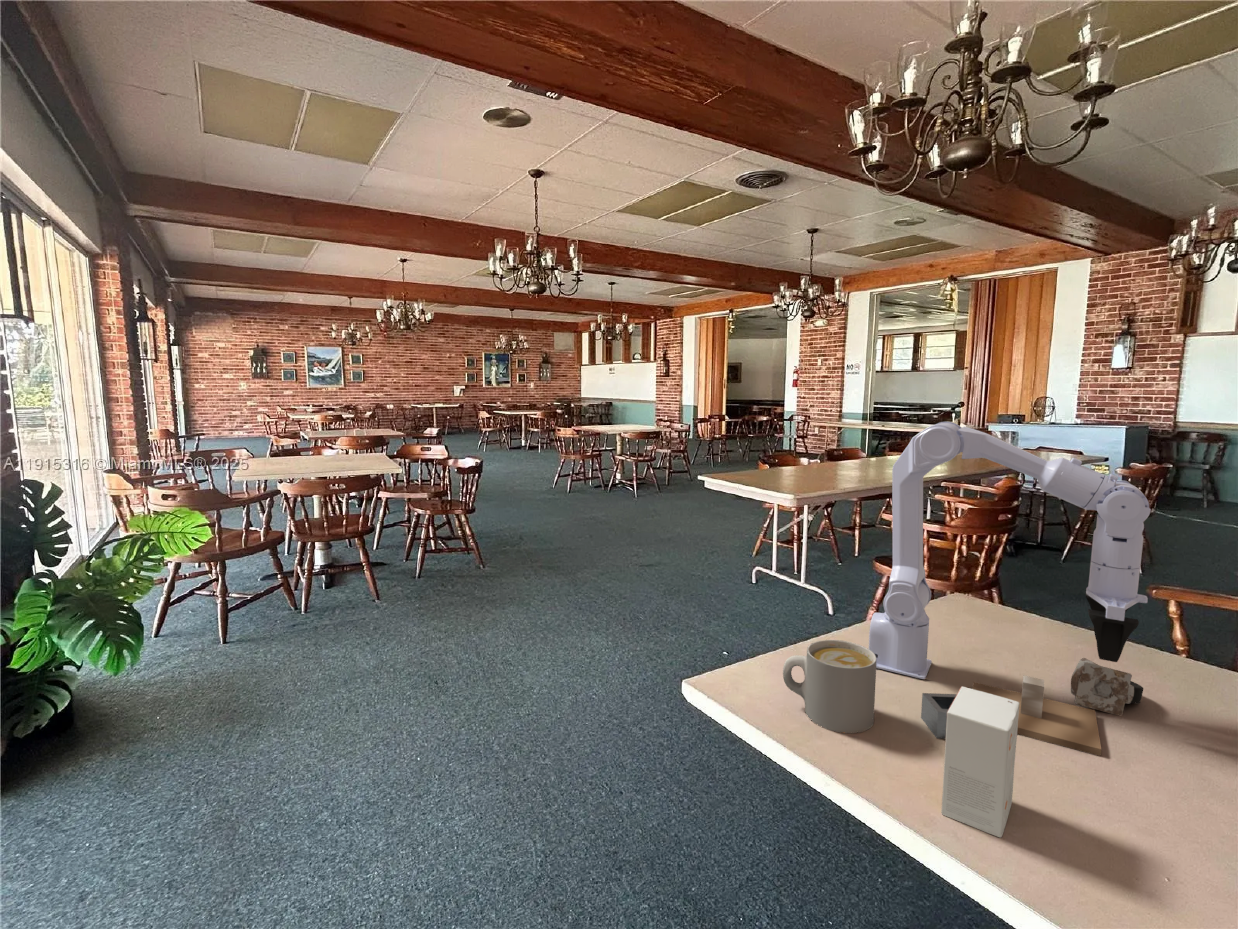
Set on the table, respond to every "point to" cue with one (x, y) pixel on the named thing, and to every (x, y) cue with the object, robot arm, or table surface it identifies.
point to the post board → (1050, 717)
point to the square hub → (936, 712)
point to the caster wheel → (1103, 687)
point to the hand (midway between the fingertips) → (1106, 650)
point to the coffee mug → (836, 684)
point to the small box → (980, 760)
